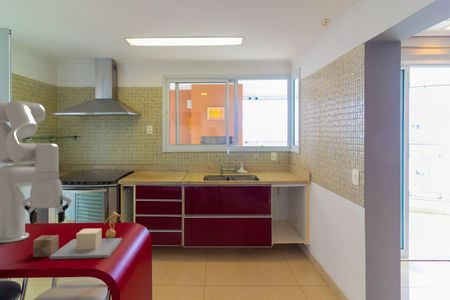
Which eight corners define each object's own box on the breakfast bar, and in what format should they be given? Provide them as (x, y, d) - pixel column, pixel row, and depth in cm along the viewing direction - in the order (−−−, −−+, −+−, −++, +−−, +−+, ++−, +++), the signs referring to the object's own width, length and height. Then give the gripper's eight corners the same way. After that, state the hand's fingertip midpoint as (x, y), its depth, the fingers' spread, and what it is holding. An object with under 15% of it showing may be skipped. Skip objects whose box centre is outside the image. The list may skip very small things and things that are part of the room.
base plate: (49, 259, 103) (49, 239, 103) (73, 241, 123) (73, 224, 123) (108, 257, 105) (108, 238, 105) (122, 240, 125) (122, 224, 125)
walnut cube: (33, 256, 105) (33, 240, 105) (42, 251, 111) (42, 235, 111) (50, 256, 106) (50, 239, 106) (58, 250, 112) (58, 235, 112)
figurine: (115, 235, 132) (116, 208, 133) (124, 237, 129) (124, 210, 129) (99, 239, 125) (99, 211, 125) (108, 242, 122) (108, 213, 122)
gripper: (16, 178, 104) (16, 226, 104) (67, 176, 106) (67, 224, 105) (28, 176, 111) (28, 221, 111) (75, 175, 113) (75, 219, 113)
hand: (47, 222), depth 108 cm, fingers open, 9 cm apart
